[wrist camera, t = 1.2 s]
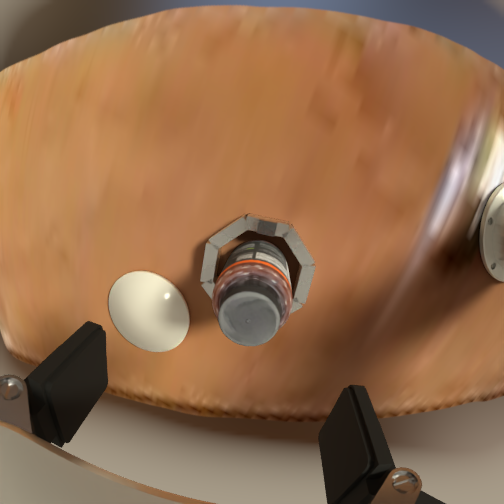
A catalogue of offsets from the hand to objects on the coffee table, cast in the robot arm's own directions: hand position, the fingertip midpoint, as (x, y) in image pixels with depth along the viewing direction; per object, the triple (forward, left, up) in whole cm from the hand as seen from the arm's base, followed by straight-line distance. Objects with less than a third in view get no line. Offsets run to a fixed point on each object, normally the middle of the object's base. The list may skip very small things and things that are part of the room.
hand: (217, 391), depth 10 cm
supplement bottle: (-1, +1, -20) cm, 20 cm away
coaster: (+10, +9, -20) cm, 24 cm away
